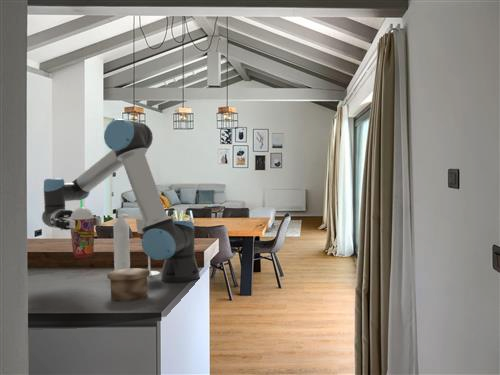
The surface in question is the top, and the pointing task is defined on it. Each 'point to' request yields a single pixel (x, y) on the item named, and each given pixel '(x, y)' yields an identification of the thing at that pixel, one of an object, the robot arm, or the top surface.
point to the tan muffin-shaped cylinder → (128, 284)
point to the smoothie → (82, 232)
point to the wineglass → (140, 233)
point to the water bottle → (121, 243)
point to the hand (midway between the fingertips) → (87, 223)
